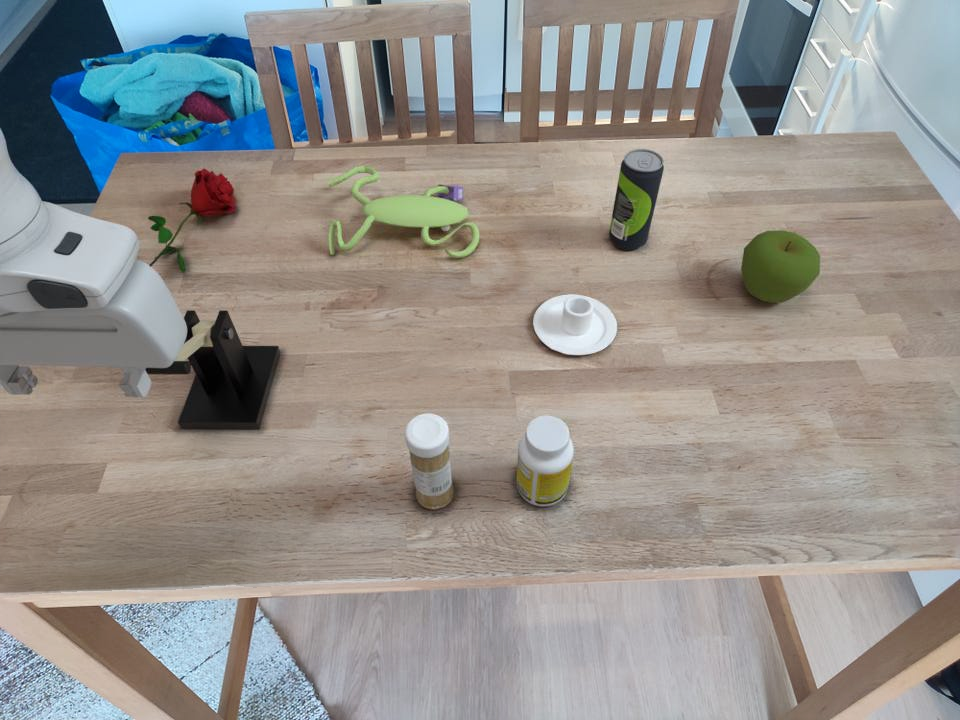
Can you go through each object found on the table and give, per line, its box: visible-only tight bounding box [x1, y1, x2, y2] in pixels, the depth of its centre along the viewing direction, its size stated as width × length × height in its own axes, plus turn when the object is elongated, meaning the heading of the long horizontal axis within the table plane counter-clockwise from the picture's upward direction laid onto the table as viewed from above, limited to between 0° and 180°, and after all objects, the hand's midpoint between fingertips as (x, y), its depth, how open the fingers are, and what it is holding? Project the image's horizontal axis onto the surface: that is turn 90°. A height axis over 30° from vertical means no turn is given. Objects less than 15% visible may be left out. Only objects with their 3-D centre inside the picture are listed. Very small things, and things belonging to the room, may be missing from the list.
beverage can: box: [608, 148, 665, 251], centre depth 102 cm, size 6×6×15 cm
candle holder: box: [532, 293, 618, 356], centre depth 94 cm, size 12×12×4 cm
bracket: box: [177, 309, 281, 430], centre depth 84 cm, size 13×10×13 cm
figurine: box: [327, 165, 481, 259], centre depth 109 cm, size 18×27×6 cm
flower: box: [147, 168, 237, 274], centre depth 105 cm, size 9×9×30 cm
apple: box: [740, 230, 821, 304], centre depth 96 cm, size 11×10×10 cm
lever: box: [145, 320, 216, 376], centre depth 75 cm, size 13×5×2 cm, turn 179°
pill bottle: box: [516, 414, 575, 508], centre depth 74 cm, size 6×6×11 cm
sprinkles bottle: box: [404, 412, 455, 511], centre depth 73 cm, size 5×5×13 cm
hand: (82, 389), depth 54 cm, fingers open, 8 cm apart
